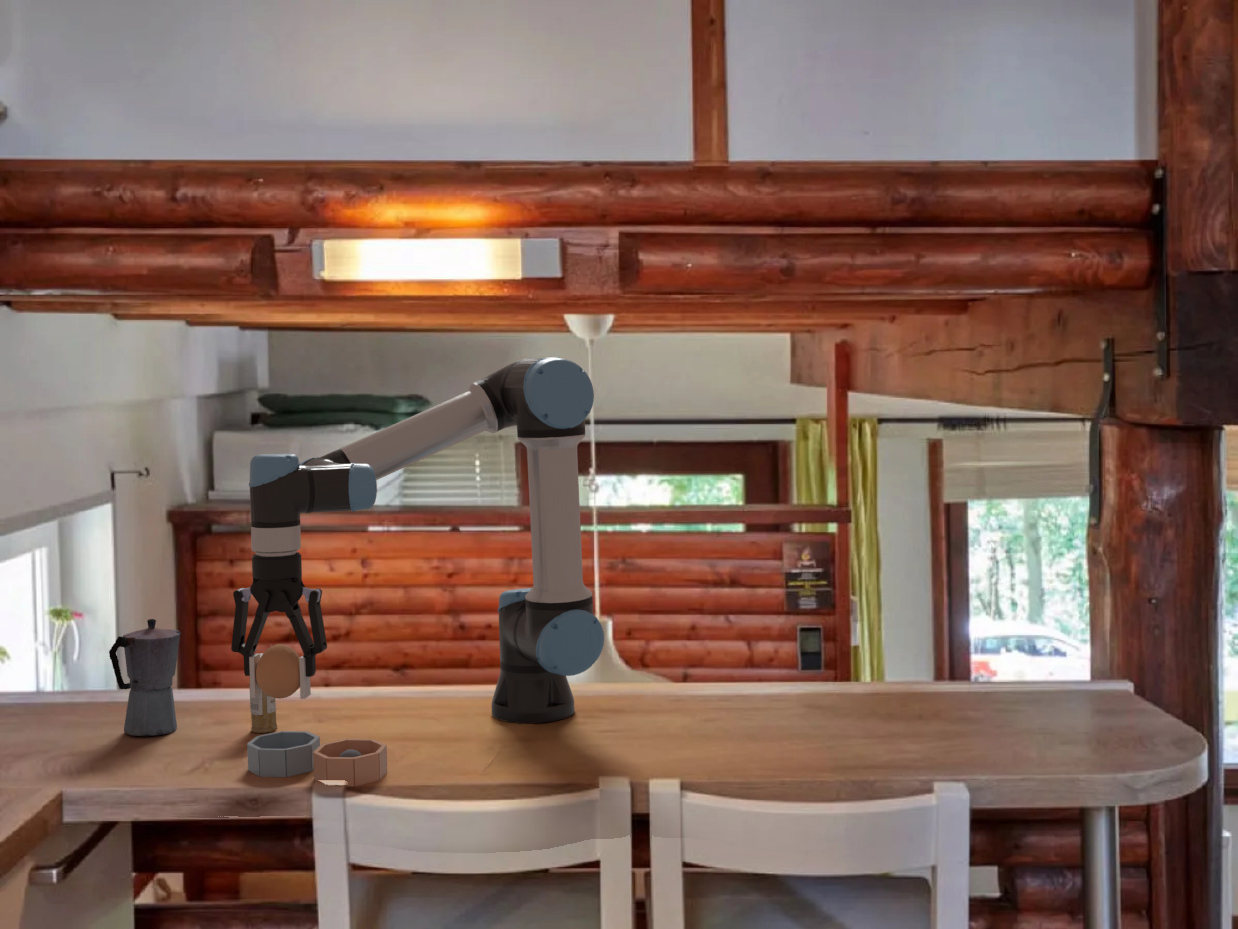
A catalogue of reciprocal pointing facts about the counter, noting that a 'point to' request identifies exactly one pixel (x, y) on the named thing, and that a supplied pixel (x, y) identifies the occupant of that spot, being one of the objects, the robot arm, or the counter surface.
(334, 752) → the brown octagonal bowl
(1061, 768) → the counter surface
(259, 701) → the sprinkles bottle
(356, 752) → the rubber ball
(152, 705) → the moka pot
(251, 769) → the grey octagonal bowl
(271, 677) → the egg
